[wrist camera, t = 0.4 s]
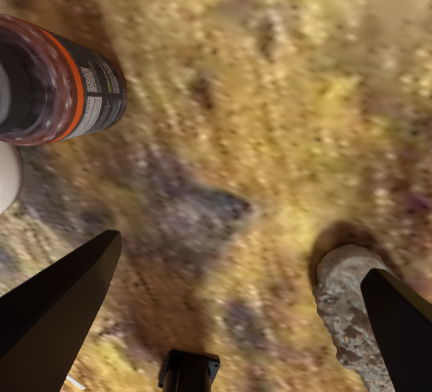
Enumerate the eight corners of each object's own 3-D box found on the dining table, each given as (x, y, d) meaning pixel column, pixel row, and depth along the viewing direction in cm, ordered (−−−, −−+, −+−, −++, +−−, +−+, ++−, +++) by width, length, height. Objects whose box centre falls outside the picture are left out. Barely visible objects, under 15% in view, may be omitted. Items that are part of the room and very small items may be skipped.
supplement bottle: (39, 85, 19) (-174, 61, 9) (89, 32, 18) (-86, -72, 8) (95, 145, 21) (-26, 185, 10) (145, 99, 20) (65, 93, 9)
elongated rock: (380, 422, 37) (442, 395, 36) (407, 470, 33) (481, 441, 31) (282, 268, 25) (371, 220, 24) (303, 308, 20) (417, 250, 19)
